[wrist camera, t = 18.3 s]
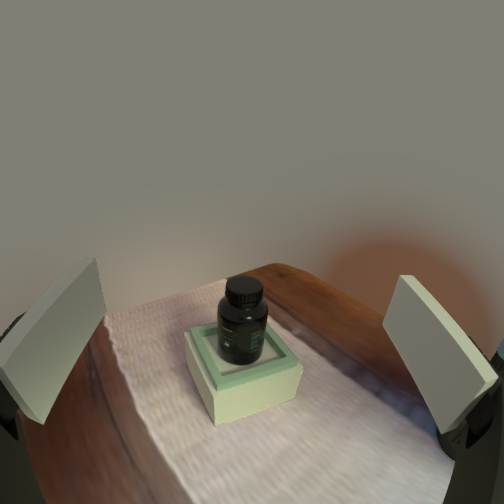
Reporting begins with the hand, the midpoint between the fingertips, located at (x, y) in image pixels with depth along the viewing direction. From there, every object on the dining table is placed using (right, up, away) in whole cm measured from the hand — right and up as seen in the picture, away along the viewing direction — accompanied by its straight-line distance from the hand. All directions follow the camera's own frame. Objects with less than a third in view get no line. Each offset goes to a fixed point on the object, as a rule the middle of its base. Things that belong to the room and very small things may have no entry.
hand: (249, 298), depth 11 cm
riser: (-2, -21, +32) cm, 38 cm away
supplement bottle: (-2, -13, +29) cm, 32 cm away
